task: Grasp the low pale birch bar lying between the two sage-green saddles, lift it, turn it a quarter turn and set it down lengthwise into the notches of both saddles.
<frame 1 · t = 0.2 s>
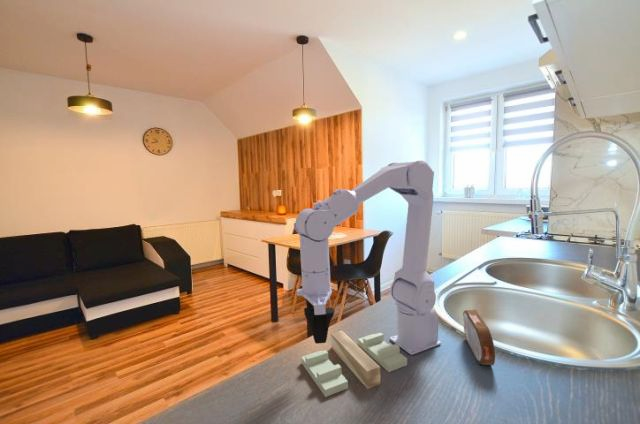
hand: (318, 332, 62), 10 cm above the worktop, tool pointing down, fingers open, 7 cm apart
stand: (353, 363, 67), on the worktop
bar: (353, 365, 67), on the worktop
brown rounded slab: (476, 353, 70), on the worktop
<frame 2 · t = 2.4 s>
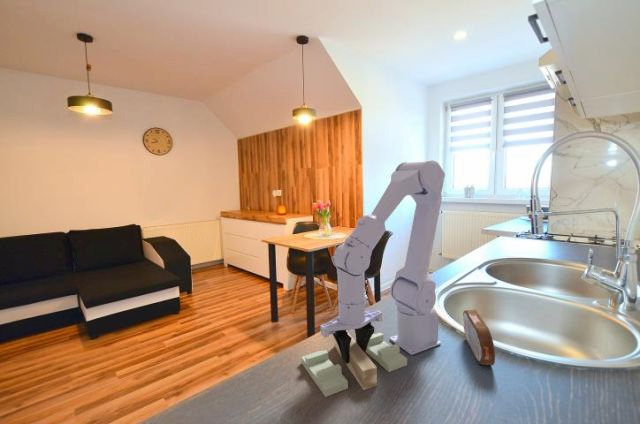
hand: (353, 358, 67), 1 cm above the worktop, tool pointing down, fingers closed on bar, 3 cm apart
bar: (353, 364, 67), on the worktop, touching gripper
everything else where it was.
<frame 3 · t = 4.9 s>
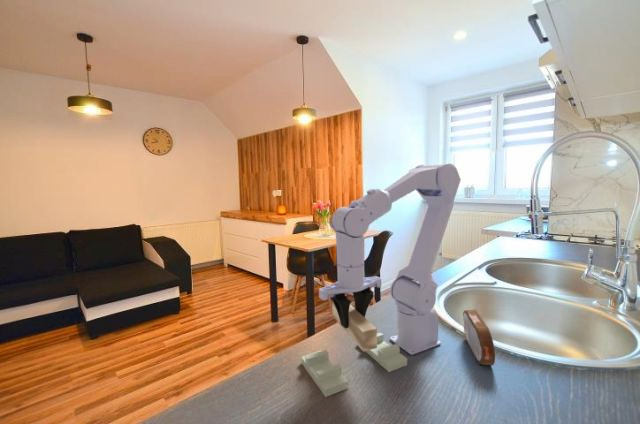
hand: (352, 323, 66), 9 cm above the worktop, tool pointing down, fingers closed on bar, 3 cm apart
bar: (352, 330, 66), point 8 cm above the worktop, touching gripper
everything else where it was.
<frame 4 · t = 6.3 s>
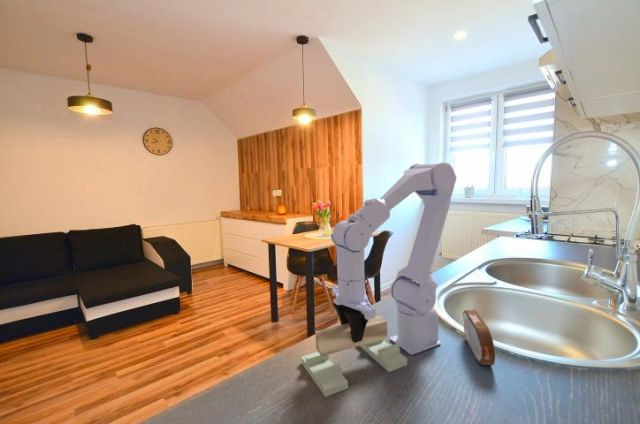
hand: (352, 336, 66), 6 cm above the worktop, tool pointing down, fingers closed on bar, 3 cm apart
bar: (352, 343, 66), point 5 cm above the worktop, touching gripper
everything else where it was.
when the fingers open (4 cm above the worktop, at t = 7.6 s): bar stays where it is, resting on stand.
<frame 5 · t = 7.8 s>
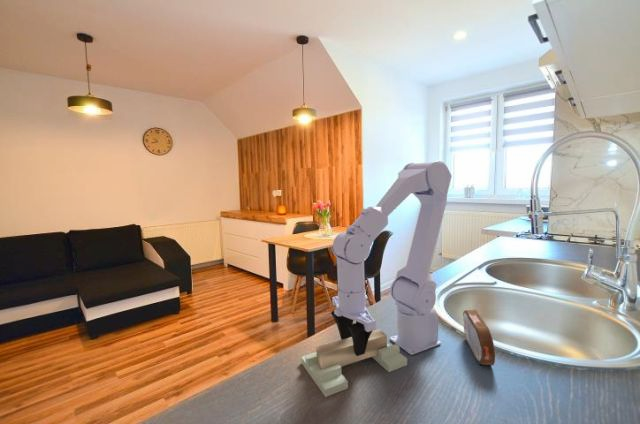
hand: (353, 347, 67), 4 cm above the worktop, tool pointing down, fingers open, 5 cm apart
bar: (352, 357, 67), point 1 cm above the worktop, touching stand
everything else where it was.
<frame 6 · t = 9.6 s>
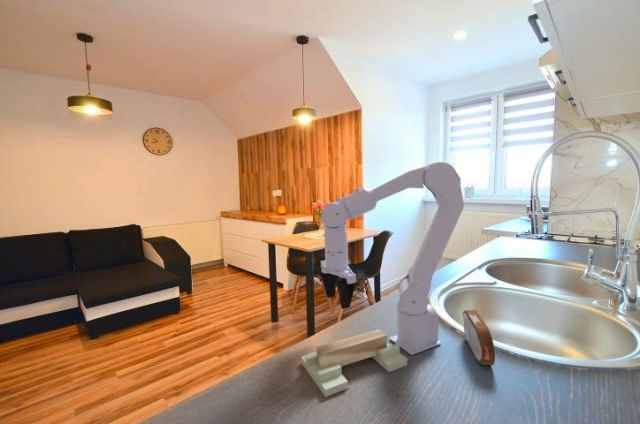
hand: (338, 302, 77), 9 cm above the worktop, tool pointing down, fingers open, 7 cm apart
nothing on the worktop moved.
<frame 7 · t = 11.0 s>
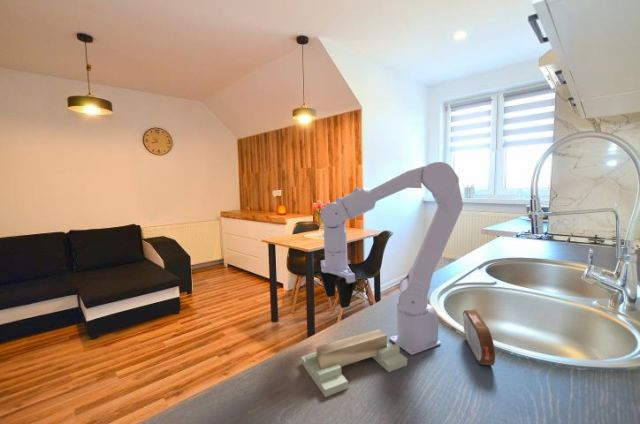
hand: (337, 301, 78), 9 cm above the worktop, tool pointing down, fingers open, 7 cm apart
nothing on the worktop moved.
at the end: bar 0.1 cm off-centre on the stand, point 1.5 cm above the stand's base; bar tilted 0°; the gripper is holding nothing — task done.
